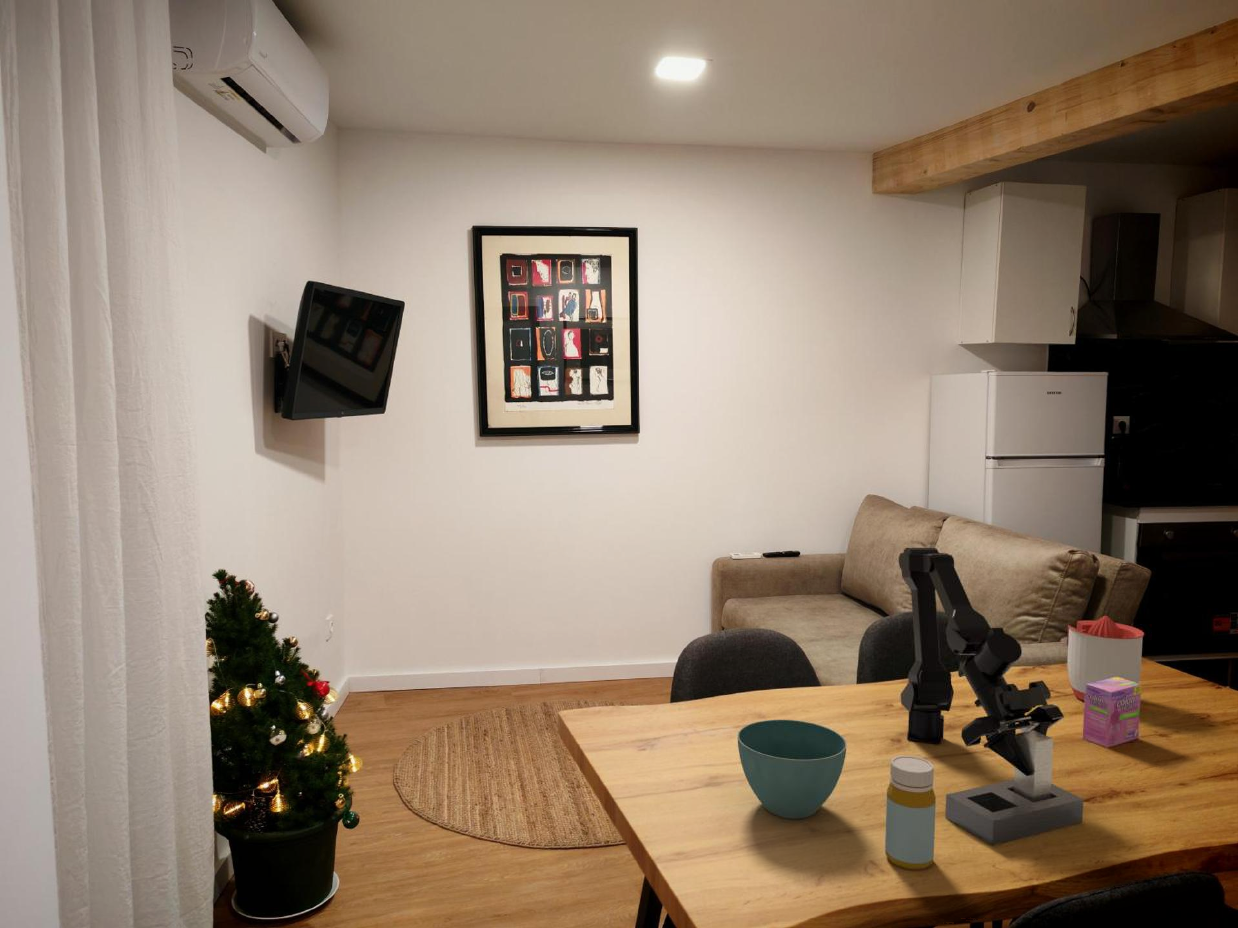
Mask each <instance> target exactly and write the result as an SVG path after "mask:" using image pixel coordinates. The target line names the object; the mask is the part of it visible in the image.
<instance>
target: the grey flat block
mask: <svg viewBox="0 0 1238 928" xmlns="http://www.w3.org/2000/svg"><path fill="white" fill-rule="evenodd" d="M1083 812H1084V798H1082V797H1080V796H1078V795H1076V794H1075V793H1072V792H1070V791H1068V790H1066V789H1064V788H1062V787H1060V786H1057V785H1055V784H1054V783H1051V799H1047V800H1043V801H1038V802H1034V803H1033V802H1031V801H1030V800H1028V799H1026V798H1024V797H1022V796H1020V795H1018V794H1016V793H1014V778H1013V779H1009V780H1005V781H1000V782H995V783H991V784H988V785H983V786H978V787H974V788H969V789H966V790H965V789H964V790H960V791H956V792H952V793H947V794H945V815H944V816H945V819H947V820H948V821H950V822H952V823H953V824H955V825H957V826H959V827H960V828H962V829H963V828H964V829H963V830H965V831H967V832H969V833H970V834H972V835H974V836H975V837H977V838H979V839H980V840H982V841H983V842H986V843H987V844H988V845H990V846H992V847H993V846H997V845H1000V844H1005V843H1008V842H1012V841H1016V840H1020V839H1023V838H1027V837H1028V838H1029V837H1031V836H1035V835H1038V834H1043V833H1047V832H1051V831H1054V830H1057V829H1058V830H1059V829H1063V828H1065V826H1066V827H1070V826H1073V825H1077V824H1080V823H1083V817H1084V815H1083V814H1084V813H1083ZM1069 825H1070V826H1069ZM1050 830H1051V831H1050Z"/></svg>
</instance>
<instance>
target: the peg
mask: <svg viewBox="0 0 1238 928" xmlns="http://www.w3.org/2000/svg"><path fill="white" fill-rule="evenodd" d="M1016 742H1017V744H1018V746H1019V748H1020V750H1021V752H1022V753H1023V755H1024V757H1025V759H1026V761H1027V763H1028V765H1029V767H1030V770H1031V772H1032V774H1031V775H1029V776H1026V775H1024V774H1023V773H1022V772H1021V771H1019V770H1018V769H1017V768H1016V767H1014V771H1013V772H1014V775H1013V779H1014V793H1016V794H1018V795H1020V796H1022V797H1024V798H1026V799H1028V800H1030V801H1031V802H1033V803H1034V802H1038V801H1043V800H1047V799H1051V784H1052V777H1053V776H1052V775H1053V773H1052V771H1053V754H1054V753H1053V751H1054V750H1053V749H1054V738H1053V737H1050V736H1048V735H1047V734H1046V735H1043V734H1041V733H1039V732H1036V731H1034V730H1032V731H1027V732H1018V733H1016Z"/></svg>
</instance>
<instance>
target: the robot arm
mask: <svg viewBox="0 0 1238 928" xmlns="http://www.w3.org/2000/svg"><path fill="white" fill-rule="evenodd" d="M898 565H899V569H900V571H901V578H902V580H903V581H904V582H905V584H906V585H907V587H908V589H910V595H911V608H912V621H913V622H912V625H913V638H914V640H913V641H914V642H913V643H914V652H915V653H914V654H915V657H914V658H915V661H914V663H913V665H912V666H911V668H910V670H909V672H908V675H907V676H908V680H907V681H908V682H907V683H906V686H905V687H903V690H902V691H901V692H900V704H901V706H902V707H904V708H905V709H906V710H907V711H908V723H907V724H908V725H907V735H906V739H907V740H908V741H915V742H922V743H927V744H928V743H929V744H935V745H940V744H941V743H942V742H941V740H942V739H944V734H945V733H944V729H945V715H943V714H942V712H950V710H951V708H952V707H951V706H952V703H953V702H952V701H953V699H954V694H955V692H954V691H955V690H954V687H953V685H952V674H951V672H950V670H949V669H946V667H945V666H944V665H943V663H942V662H941V655H940V654H941V653H940V639H939V625H938V624H939V621H938V611H937V599H936V595H937V596H938V598H939V601H940V603H941V606H942V609H943V611H944V613H945V615H946V618H947V621H948V622H947V625H946V629H945V634H946V642H947V644H948V647H949V648H950V650H951V651H952V652H953V654H954V655H958V656H964V655H967V656H969V657H968V658H967V659H966V660H965V659H964V660H962V661H959V668H958V670H957V672H958V675H957V676H959V678H961V677H962V678H963V677H965V678H966V681H967V682H968V683H969V685H970V687H971V689H972V691H973V693H974V695H975V696H976V698H977V699H976V700H975V701H974V705H975V707H976V708H980V707H982V708H983V710H984V712H985V713H986V716H979V717H975V718H974V719H973V720H972V721H971V722H969V723H968V724H967V725H965V726H964V727H963V728H962V729H961V734H960V735H961V739H962V740H963V742H964V744H965V747H973V746H977V745H980V743H981V740H982V737H983V736H985V740H986V743H984V744H983V745H982V746H983V747H984V748H985V749H987V748H988V749H989V750H991V751H993V752H994V753H995V754H996V755H998V756H999V757H1001V758H1003V759H1004V760H1005V761H1006V762H1008V763H1009V764H1010V765H1011V766H1012V767H1014V768H1015V767H1016V768H1017V769H1018V770H1019V771H1021V772H1022V773H1023V774H1024V775H1026V776H1029V775H1031V774H1032V772H1031V770H1030V767H1029V765H1028V763H1027V761H1026V759H1025V757H1024V755H1023V753H1022V752H1021V750H1020V748H1019V746H1018V744H1017V742H1016V734H1017V733H1016V730H1020V733H1022V732H1027V731H1032V730H1034V731H1036V732H1039V733H1041V734H1043V735H1046V736H1047V734H1048V733H1047V732H1048V729H1050V728H1051V727H1052V726H1054V725H1055V724H1056V723H1058V722H1059V721H1061V720H1062V719H1064V718H1065V716H1064V714H1063V712H1062V711H1061V709H1060V707H1059V706H1058V705H1055V704H1053V703H1051V704H1048V702H1047V700H1049V699H1051V697H1052V694H1051V691H1050V689H1049V687H1048V686H1047V685H1046V683H1045V682H1044V680H1037V681H1032V682H1029V683H1028V688H1025V689H1018V687H1017V685H1016V684H1014V683H1008V682H1007V680H1006V679H1005V677H1004V675H1006V673H1007V672H1008V671H1010V669H1011V668H1012V667H1013V666H1014V665H1015V664H1016V663H1017V662H1018V661H1019V659H1020V658H1021V656H1022V654H1023V653H1022V652H1023V651H1022V647H1021V644H1020V643H1019V642H1018V641H1017V640H1016V639H1015V638H1014V637H1013V636H1011V635H1010V634H1008V633H1006V632H1005V631H1004V628H1003V627H1000V626H999V627H991V626H990V624H989V621H987V619H986V617H985V616H984V615H983V614H981V613H979V612H978V611H976V610H975V609H974V607H973V606H972V604H971V601H970V599H969V597H968V595H967V593H966V590H965V588H964V585H963V582H962V581H961V579H960V577H959V574H958V573H957V570H956V568H955V560H954V557H953V555H952V554H949V553H946V552H939V550H938V549H937V548H936V547H905V548H904V550H903V552H901V553H899V555H898ZM1026 713H1027V714H1026Z"/></svg>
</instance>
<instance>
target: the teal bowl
mask: <svg viewBox="0 0 1238 928" xmlns="http://www.w3.org/2000/svg"><path fill="white" fill-rule="evenodd" d="M847 745H848V744H847V740H846V739H845V738H844V737H843V736H842V735H841V734H840V733H838V732H837V731H835V730H833V729H831V728H830V727H827V726H824V725H820V724H817V723H813V722H809V721H805V720H804V721H803V720H795V719H765V720H761V721H756V722H752V723H750V724H747V725H744V726H743V727H741V728H740V729H739V731H738V733H737V747H738V753H739V759H740V763H741V767H742V770H743V773H744V776H745V779H746V780H747V783H748V785H749V786H750V787H749V788H750V789H751V790H752V792H753V793H754V795H755V796H756V798H757V799H758V800H759V802H760V803H761V804H762V806H763V807H764V808H765V809H766V810H767V811H768V812H769V813H771V814H773V815H774V816H777V817H780V818H785V819H791V820H796V819H805V818H808V817H810V816H812V815H813V814H815V813H816V812H817V811H818V810H819V809H820V808H821V807H822V806H823V805H824V804H825V803H826V802H827V800H828V799H829V797H830V796H831V794H832V793H833V792H834V790H835V788H836V786H837V784H838V781H839V780H840V777H841V775H842V771H843V768H844V765H845V760H846V754H847V747H848V746H847Z"/></svg>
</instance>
